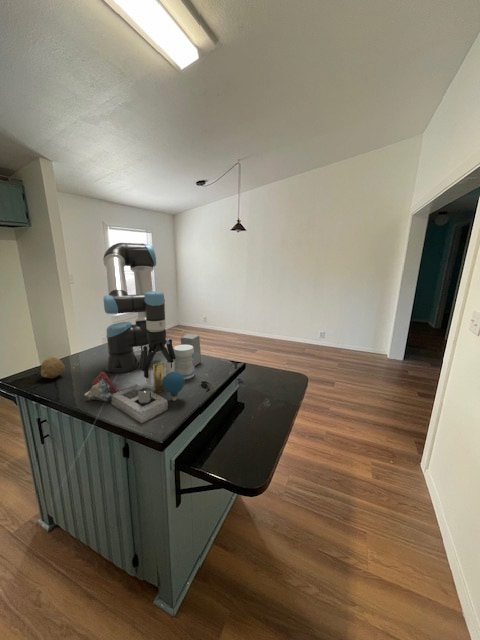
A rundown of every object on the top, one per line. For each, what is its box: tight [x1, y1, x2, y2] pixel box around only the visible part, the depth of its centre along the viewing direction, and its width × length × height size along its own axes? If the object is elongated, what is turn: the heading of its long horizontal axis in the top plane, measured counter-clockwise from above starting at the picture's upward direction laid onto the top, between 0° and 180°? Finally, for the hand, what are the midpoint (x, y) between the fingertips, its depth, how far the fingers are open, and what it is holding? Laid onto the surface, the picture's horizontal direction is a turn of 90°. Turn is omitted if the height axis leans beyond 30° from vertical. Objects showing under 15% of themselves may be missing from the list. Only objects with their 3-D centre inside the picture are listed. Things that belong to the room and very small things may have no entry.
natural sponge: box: [40, 356, 66, 379], centre depth 118 cm, size 9×9×10 cm
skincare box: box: [180, 333, 202, 367], centre depth 137 cm, size 8×7×16 cm
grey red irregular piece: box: [83, 371, 120, 402], centre depth 101 cm, size 11×11×12 cm
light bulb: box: [163, 371, 186, 401], centre depth 100 cm, size 8×8×12 cm
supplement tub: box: [173, 344, 195, 380], centre depth 122 cm, size 10×10×15 cm
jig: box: [110, 384, 169, 424], centre depth 96 cm, size 20×11×8 cm, turn 54°
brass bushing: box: [152, 361, 166, 393], centre depth 109 cm, size 4×4×12 cm
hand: (159, 379), depth 109 cm, fingers open, 9 cm apart
